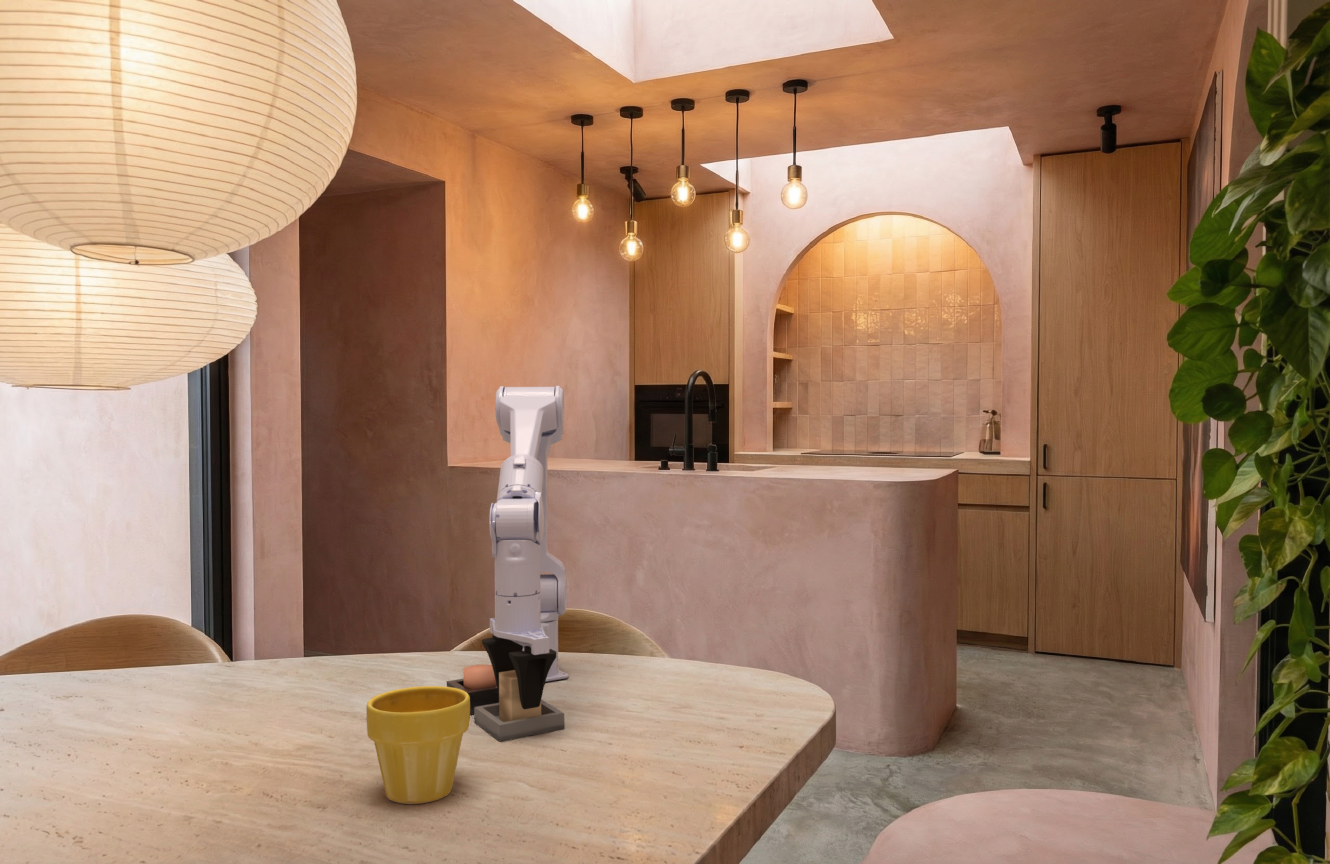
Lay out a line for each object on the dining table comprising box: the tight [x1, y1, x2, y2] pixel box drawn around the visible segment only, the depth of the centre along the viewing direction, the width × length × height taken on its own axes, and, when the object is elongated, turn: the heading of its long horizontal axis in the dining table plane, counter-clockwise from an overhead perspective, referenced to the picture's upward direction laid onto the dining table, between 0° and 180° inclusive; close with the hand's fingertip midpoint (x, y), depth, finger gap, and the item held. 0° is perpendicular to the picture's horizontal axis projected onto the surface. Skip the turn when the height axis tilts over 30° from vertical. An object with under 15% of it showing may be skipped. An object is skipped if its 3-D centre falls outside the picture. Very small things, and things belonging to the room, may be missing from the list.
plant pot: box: [366, 685, 471, 805], centre depth 96 cm, size 10×10×10 cm
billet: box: [499, 670, 541, 722], centre depth 117 cm, size 4×4×6 cm
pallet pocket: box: [473, 698, 565, 742], centre depth 117 cm, size 9×9×2 cm
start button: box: [462, 663, 496, 690], centre depth 125 cm, size 4×4×3 cm
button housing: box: [446, 678, 499, 716], centre depth 125 cm, size 7×7×3 cm
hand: (518, 699), depth 117 cm, fingers open, 7 cm apart
